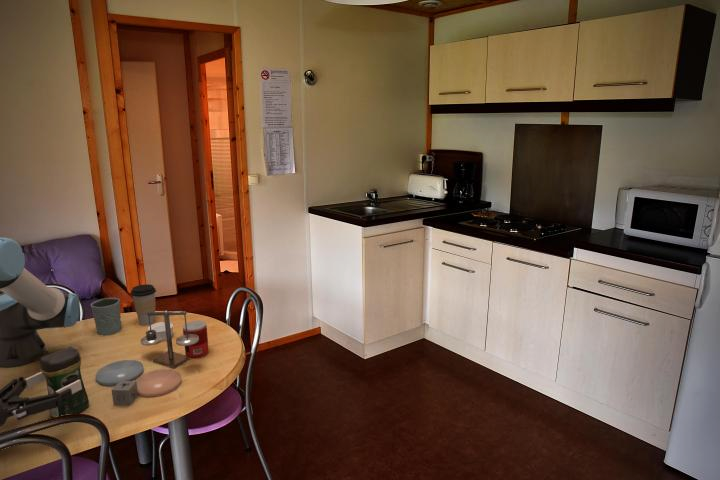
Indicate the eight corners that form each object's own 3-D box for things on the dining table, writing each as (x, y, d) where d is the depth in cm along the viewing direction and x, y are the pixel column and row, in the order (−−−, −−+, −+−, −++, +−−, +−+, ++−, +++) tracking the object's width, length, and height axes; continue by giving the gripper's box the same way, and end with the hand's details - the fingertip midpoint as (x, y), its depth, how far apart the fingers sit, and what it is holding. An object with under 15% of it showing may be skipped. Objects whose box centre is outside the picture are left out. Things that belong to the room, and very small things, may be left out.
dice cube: (138, 396, 148) (136, 381, 147) (130, 405, 143) (128, 390, 142) (122, 395, 148) (120, 381, 147) (113, 405, 143) (111, 390, 142)
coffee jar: (79, 398, 147) (69, 341, 142) (93, 406, 143) (84, 348, 138) (44, 414, 139) (33, 355, 134) (58, 423, 135) (47, 362, 130)
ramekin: (155, 331, 191) (154, 321, 190) (177, 332, 191) (176, 321, 190) (144, 342, 183) (143, 331, 181) (168, 342, 182) (167, 331, 181)
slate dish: (86, 379, 157) (85, 375, 156) (124, 360, 169) (123, 356, 169) (116, 390, 151) (115, 386, 150) (153, 369, 163) (152, 365, 162)
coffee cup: (150, 328, 194) (146, 292, 190) (129, 326, 196) (124, 290, 192) (164, 318, 203) (160, 284, 199) (143, 316, 205) (139, 282, 201)
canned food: (213, 350, 176) (210, 322, 173) (197, 360, 169) (194, 331, 166) (197, 346, 179) (194, 318, 176) (180, 356, 172) (177, 327, 169)
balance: (138, 357, 171) (131, 304, 166) (154, 349, 177) (148, 297, 172) (190, 373, 160) (184, 317, 155) (205, 364, 166) (200, 309, 161)
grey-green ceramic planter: (99, 338, 185) (94, 309, 182) (91, 330, 193) (87, 301, 189) (127, 330, 192) (123, 302, 189) (118, 322, 199) (115, 295, 196)
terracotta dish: (123, 390, 151) (122, 386, 150) (159, 369, 163) (159, 365, 162) (155, 401, 145) (155, 397, 144) (191, 379, 157) (190, 375, 156)
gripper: (-44, 419, 126) (40, 379, 144) (13, 447, 115) (95, 401, 134) (-50, 393, 124) (35, 356, 143) (7, 420, 113) (91, 376, 132)
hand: (65, 378), depth 138 cm, fingers open, 13 cm apart
